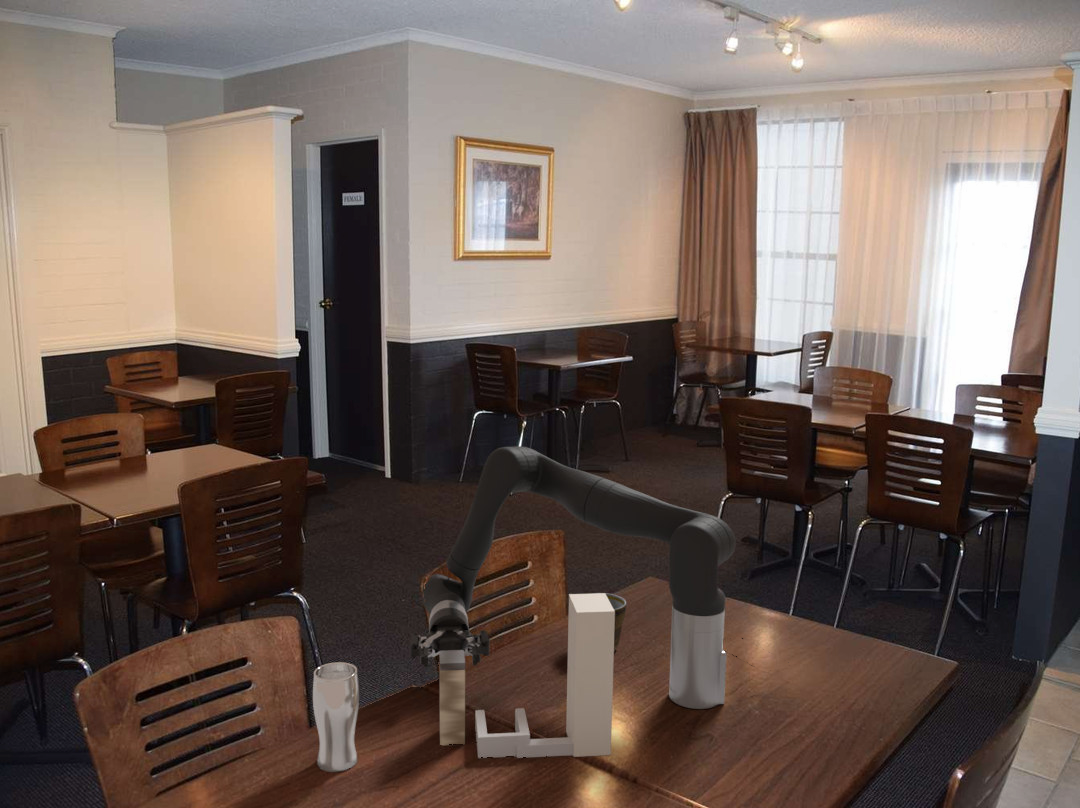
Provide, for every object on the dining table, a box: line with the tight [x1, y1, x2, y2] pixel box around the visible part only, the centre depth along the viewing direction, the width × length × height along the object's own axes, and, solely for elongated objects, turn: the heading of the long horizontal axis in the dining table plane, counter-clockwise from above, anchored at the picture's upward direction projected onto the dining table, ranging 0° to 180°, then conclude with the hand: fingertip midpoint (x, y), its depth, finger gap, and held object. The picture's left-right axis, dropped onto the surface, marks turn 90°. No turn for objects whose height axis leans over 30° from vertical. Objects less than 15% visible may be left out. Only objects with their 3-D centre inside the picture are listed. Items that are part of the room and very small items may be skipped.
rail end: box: [439, 650, 466, 746], centre depth 152 cm, size 4×5×14 cm
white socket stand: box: [474, 592, 615, 759], centre depth 150 cm, size 21×10×24 cm, turn 97°
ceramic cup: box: [590, 592, 627, 652], centre depth 187 cm, size 13×10×10 cm
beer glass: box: [312, 661, 360, 773], centre depth 144 cm, size 7×7×15 cm
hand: (450, 661), depth 162 cm, fingers open, 8 cm apart
